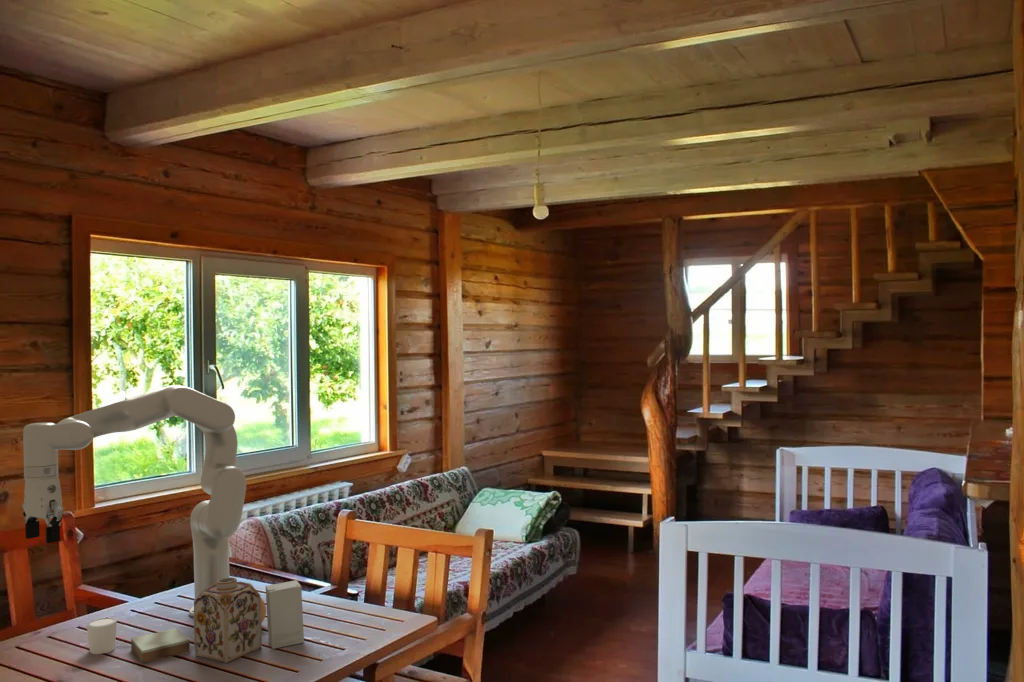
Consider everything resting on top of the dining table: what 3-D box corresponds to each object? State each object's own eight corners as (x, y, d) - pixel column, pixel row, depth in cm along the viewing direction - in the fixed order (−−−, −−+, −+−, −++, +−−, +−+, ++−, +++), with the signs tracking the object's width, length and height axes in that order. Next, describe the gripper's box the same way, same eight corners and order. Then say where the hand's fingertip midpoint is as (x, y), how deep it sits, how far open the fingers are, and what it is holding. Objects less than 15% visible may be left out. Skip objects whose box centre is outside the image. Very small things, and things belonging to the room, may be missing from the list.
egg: (262, 621, 225) (261, 588, 225) (269, 628, 219) (268, 594, 219) (237, 626, 221) (236, 593, 221) (244, 633, 215) (243, 599, 215)
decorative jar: (226, 664, 195) (224, 589, 195) (193, 656, 200) (191, 583, 200) (264, 647, 205) (262, 575, 205) (231, 639, 211) (229, 570, 211)
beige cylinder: (105, 655, 202) (104, 627, 202) (81, 654, 204) (80, 626, 204) (123, 645, 209) (123, 618, 209) (100, 644, 210) (99, 616, 210)
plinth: (177, 639, 212) (176, 627, 212) (189, 651, 203) (189, 639, 203) (131, 650, 205) (131, 638, 205) (142, 663, 197) (142, 650, 197)
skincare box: (299, 636, 212) (298, 579, 212) (304, 643, 207) (303, 585, 207) (266, 642, 209) (265, 584, 208) (270, 650, 203) (269, 590, 203)
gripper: (74, 472, 204) (76, 540, 204) (38, 467, 214) (40, 533, 214) (44, 476, 198) (45, 547, 198) (8, 471, 208) (9, 539, 208)
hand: (42, 539), depth 206 cm, fingers open, 9 cm apart
